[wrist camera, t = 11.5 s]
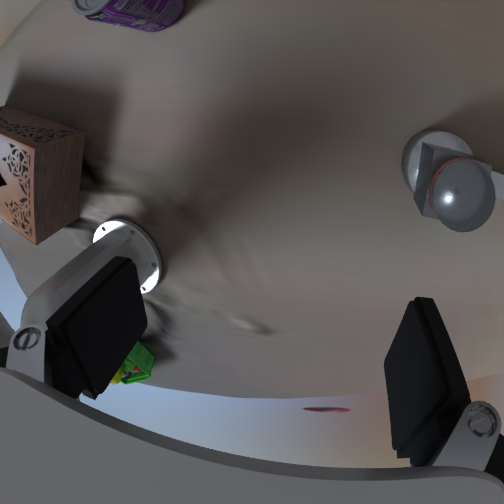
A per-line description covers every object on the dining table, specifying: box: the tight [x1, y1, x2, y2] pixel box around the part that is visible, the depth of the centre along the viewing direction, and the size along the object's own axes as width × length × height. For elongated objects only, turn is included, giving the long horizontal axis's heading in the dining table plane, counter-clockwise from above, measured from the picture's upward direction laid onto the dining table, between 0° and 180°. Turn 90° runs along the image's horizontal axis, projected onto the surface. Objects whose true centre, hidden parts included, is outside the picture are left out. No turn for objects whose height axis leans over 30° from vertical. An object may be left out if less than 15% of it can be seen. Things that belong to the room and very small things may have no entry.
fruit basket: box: [109, 341, 155, 384], centre depth 51 cm, size 11×9×11 cm
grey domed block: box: [414, 142, 496, 232], centre depth 21 cm, size 6×6×7 cm
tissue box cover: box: [0, 106, 86, 246], centre depth 35 cm, size 26×14×10 cm, turn 69°
